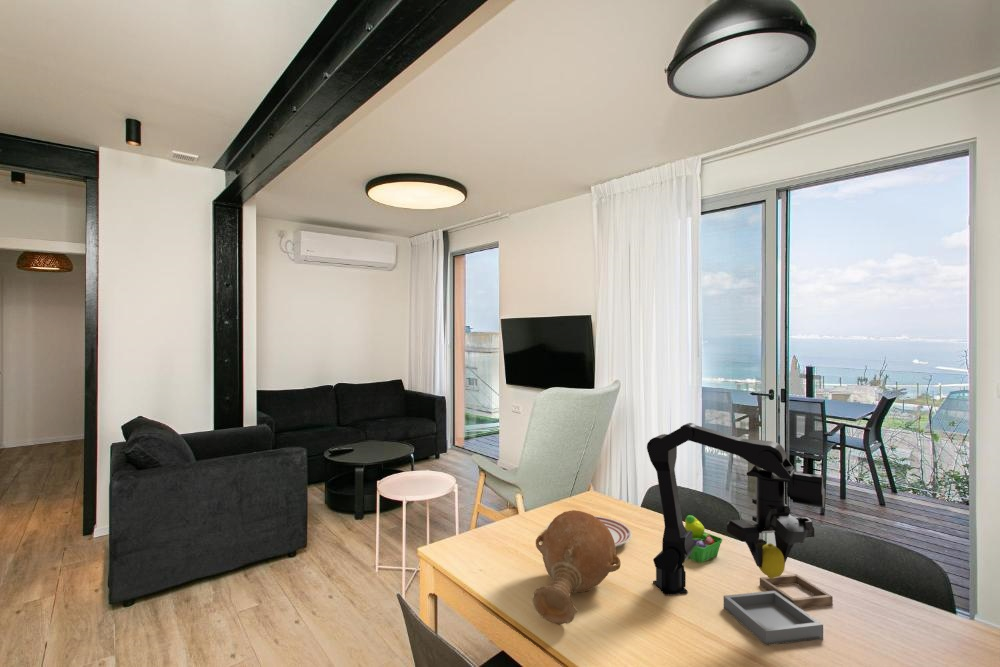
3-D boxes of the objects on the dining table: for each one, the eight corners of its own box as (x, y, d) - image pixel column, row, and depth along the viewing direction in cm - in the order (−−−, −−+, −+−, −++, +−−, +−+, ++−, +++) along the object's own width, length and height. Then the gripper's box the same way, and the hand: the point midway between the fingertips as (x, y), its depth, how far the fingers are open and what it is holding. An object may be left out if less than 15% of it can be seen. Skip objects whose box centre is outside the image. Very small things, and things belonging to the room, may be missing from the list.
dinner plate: (531, 544, 147) (531, 534, 147) (566, 517, 170) (566, 508, 171) (616, 566, 133) (616, 555, 133) (641, 533, 156) (641, 523, 156)
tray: (766, 645, 98) (766, 631, 98) (723, 608, 112) (723, 595, 112) (823, 638, 100) (823, 624, 101) (774, 602, 114) (774, 590, 114)
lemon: (788, 585, 103) (788, 549, 103) (761, 583, 104) (761, 547, 104) (779, 573, 109) (779, 539, 109) (753, 571, 110) (753, 537, 110)
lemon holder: (793, 608, 112) (793, 600, 112) (759, 585, 123) (759, 577, 123) (832, 604, 114) (832, 596, 114) (796, 581, 125) (796, 574, 125)
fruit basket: (702, 566, 133) (702, 527, 133) (675, 555, 140) (675, 517, 140) (723, 556, 140) (723, 518, 140) (696, 545, 147) (696, 509, 147)
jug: (635, 535, 126) (617, 606, 98) (595, 579, 131) (567, 658, 104) (576, 485, 131) (544, 539, 103) (540, 530, 137) (500, 592, 109)
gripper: (760, 512, 97) (760, 587, 97) (835, 507, 101) (836, 580, 100) (725, 495, 108) (725, 562, 108) (794, 491, 112) (794, 556, 111)
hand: (770, 565), depth 107 cm, fingers closed on lemon, 6 cm apart
